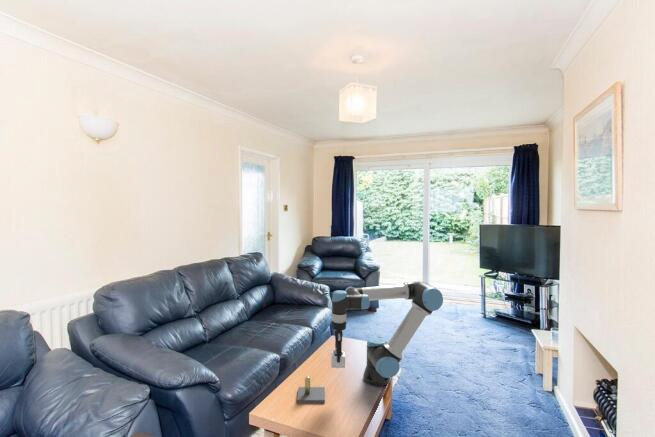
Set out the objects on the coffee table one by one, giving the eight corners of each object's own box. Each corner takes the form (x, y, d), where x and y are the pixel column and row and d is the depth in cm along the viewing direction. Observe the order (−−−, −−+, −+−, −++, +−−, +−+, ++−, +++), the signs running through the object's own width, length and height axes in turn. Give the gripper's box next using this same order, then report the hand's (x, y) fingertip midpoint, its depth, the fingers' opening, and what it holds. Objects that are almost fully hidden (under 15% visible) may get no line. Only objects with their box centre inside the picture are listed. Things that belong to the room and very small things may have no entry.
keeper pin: (310, 391, 180) (310, 375, 179) (310, 394, 177) (310, 378, 177) (305, 391, 180) (305, 375, 179) (304, 394, 177) (304, 378, 177)
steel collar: (344, 361, 181) (344, 350, 181) (344, 367, 174) (345, 356, 174) (330, 361, 181) (331, 350, 181) (331, 367, 174) (331, 356, 174)
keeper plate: (324, 389, 185) (324, 387, 185) (324, 402, 173) (324, 400, 173) (298, 389, 185) (298, 387, 184) (297, 402, 173) (297, 400, 172)
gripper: (331, 314, 187) (330, 355, 188) (332, 327, 167) (331, 373, 168) (344, 314, 187) (343, 355, 188) (347, 328, 167) (346, 373, 168)
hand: (337, 363), depth 178 cm, fingers closed on steel collar, 7 cm apart
